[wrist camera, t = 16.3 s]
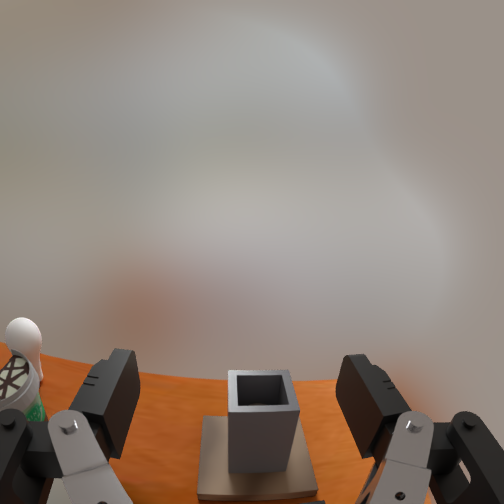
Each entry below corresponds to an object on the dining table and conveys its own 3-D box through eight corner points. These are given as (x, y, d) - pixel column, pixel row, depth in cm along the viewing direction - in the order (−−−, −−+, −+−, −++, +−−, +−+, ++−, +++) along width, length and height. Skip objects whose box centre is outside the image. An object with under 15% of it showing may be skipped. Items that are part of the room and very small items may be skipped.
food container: (44, 479, 20) (6, 420, 17) (4, 465, 19) (-35, 405, 16) (70, 412, 31) (49, 352, 29) (35, 404, 30) (12, 346, 28)
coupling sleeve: (228, 473, 25) (228, 412, 23) (227, 433, 31) (228, 370, 28) (285, 471, 26) (300, 410, 23) (278, 432, 31) (288, 369, 29)
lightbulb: (58, 387, 35) (38, 324, 32) (24, 397, 31) (0, 333, 28) (50, 367, 39) (34, 307, 36) (19, 375, 35) (-1, 315, 32)
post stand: (198, 499, 23) (190, 456, 20) (203, 423, 34) (200, 373, 32) (315, 495, 23) (333, 452, 21) (297, 422, 35) (307, 373, 33)
